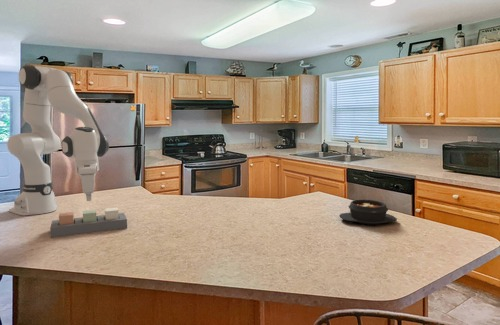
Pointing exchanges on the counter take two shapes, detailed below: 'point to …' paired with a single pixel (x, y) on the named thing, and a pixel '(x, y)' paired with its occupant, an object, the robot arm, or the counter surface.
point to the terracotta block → (66, 218)
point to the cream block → (111, 213)
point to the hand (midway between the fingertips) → (89, 200)
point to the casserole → (368, 212)
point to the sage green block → (89, 216)
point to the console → (87, 226)
